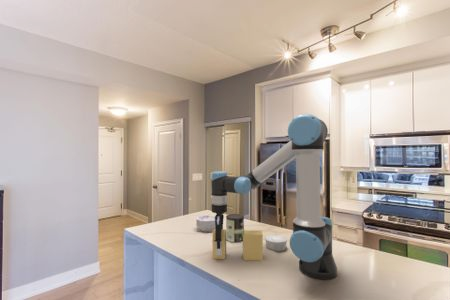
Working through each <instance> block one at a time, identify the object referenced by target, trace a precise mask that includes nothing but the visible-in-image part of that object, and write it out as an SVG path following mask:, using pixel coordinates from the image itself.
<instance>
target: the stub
mask: <svg viewBox="0 0 450 300" xmlns="http://www.w3.org/2000/svg"><path fill="white" fill-rule="evenodd" d="M226 239H227V235H226V228H223V229H221V240H222V255H216V241H214V240H215V229H214V230H213V231H212V259H216V260H225V259H226V256H227V241H226Z"/></svg>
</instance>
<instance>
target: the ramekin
mask: <svg viewBox="0 0 450 300" xmlns="http://www.w3.org/2000/svg"><path fill="white" fill-rule="evenodd" d="M264 241H265V244H266V248H268V249H269V250H272V251H274V252H276V253H277V252H284V251H285V249H286V248H287V242H288V238H287V237H286V236H284V235H280V234H279V235H278V234H269V235H267V236H265V238H264Z"/></svg>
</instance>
